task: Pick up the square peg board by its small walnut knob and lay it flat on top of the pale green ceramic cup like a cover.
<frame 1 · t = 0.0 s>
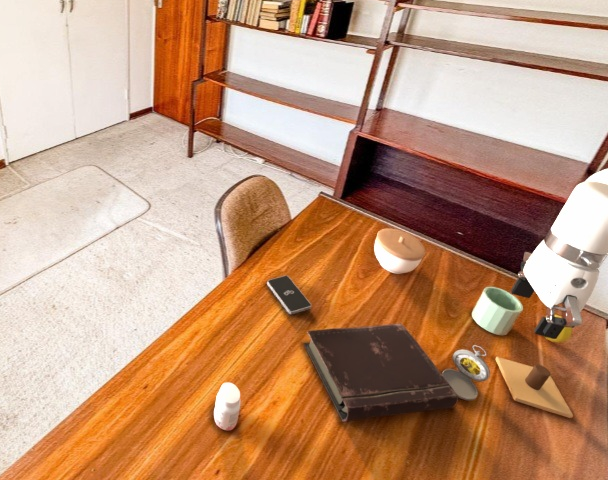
hand: (531, 314, 77), 24 cm above the table, tool pointing down, fingers open, 9 cm apart
cup: (489, 321, 104), on the table
lidded bowl: (391, 265, 121), on the table
pill bottle: (225, 418, 81), on the table
pocket watch: (460, 384, 89), on the table
square peg board: (530, 386, 89), on the table
external hard drive: (287, 298, 108), on the table
lemon: (547, 340, 100), on the table
diary: (371, 374, 90), on the table
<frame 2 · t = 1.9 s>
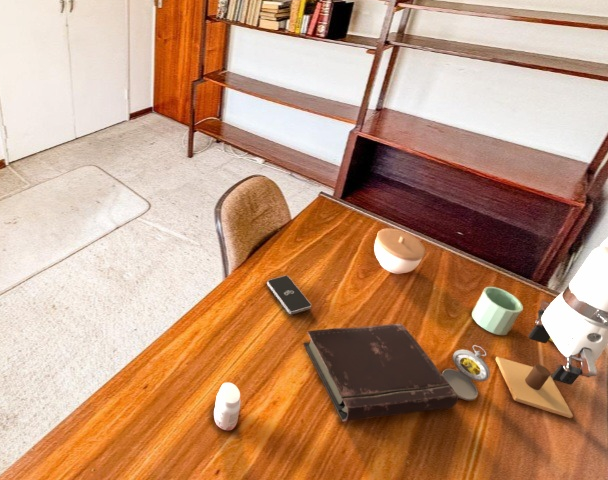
hand: (548, 359, 85), 9 cm above the table, tool pointing down, fingers open, 9 cm apart
nothing on the table moved.
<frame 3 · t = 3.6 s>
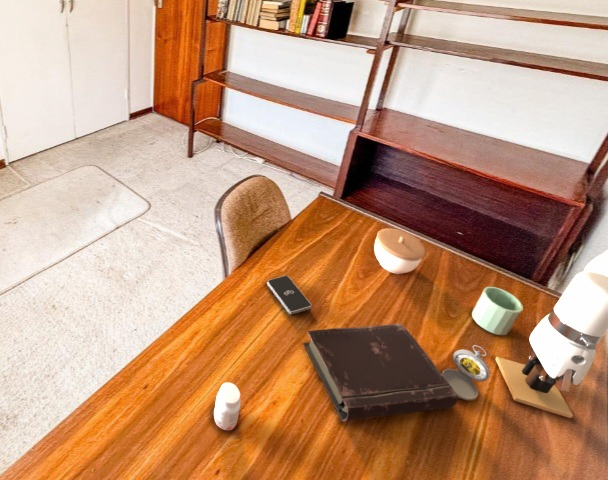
hand: (534, 381, 88), 2 cm above the table, tool pointing down, fingers closed on square peg board, 2 cm apart
square peg board: (530, 386, 89), on the table, touching gripper
everything else where it was.
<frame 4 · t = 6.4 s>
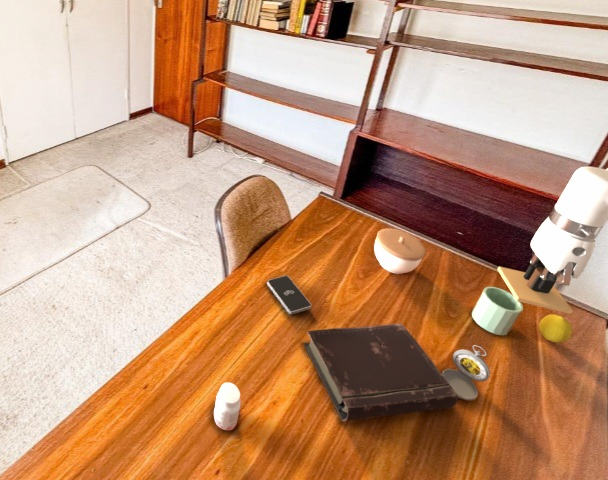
hand: (535, 284, 91), 19 cm above the table, tool pointing down, fingers closed on square peg board, 2 cm apart
square peg board: (531, 290, 92), point 17 cm above the table, touching gripper
everything else where it was.
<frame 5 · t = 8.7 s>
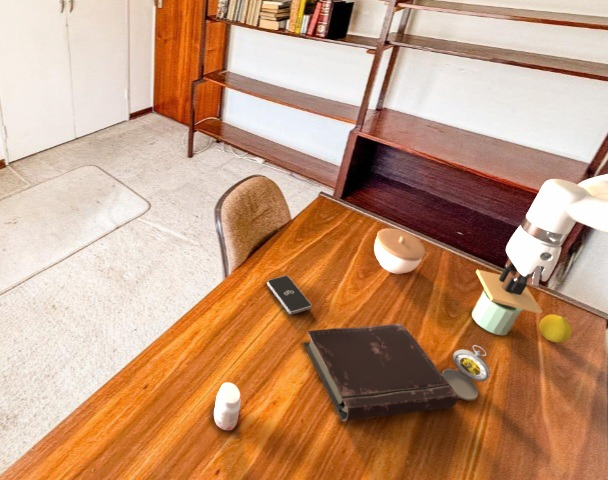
hand: (509, 286, 99), 13 cm above the table, tool pointing down, fingers closed on square peg board, 2 cm apart
square peg board: (506, 291, 100), point 11 cm above the table, touching gripper
everything else where it was.
when the fingers open (10 cm above the table, at t = 9.7 s): square peg board stays where it is, resting on cup.
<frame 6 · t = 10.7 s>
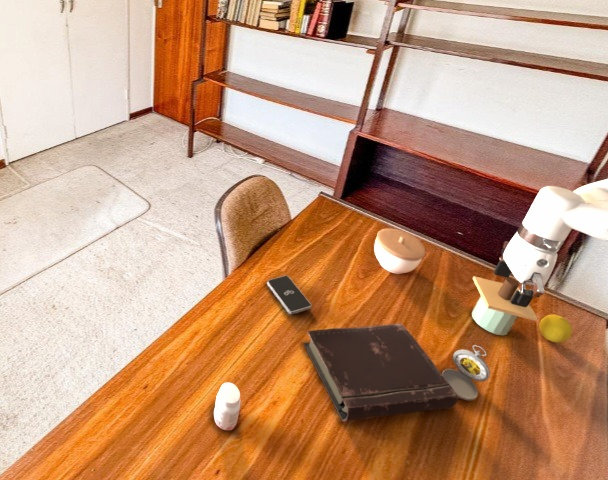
hand: (509, 289, 99), 12 cm above the table, tool pointing down, fingers open, 9 cm apart
cup: (489, 321, 104), on the table, touching square peg board
square peg board: (502, 298, 101), point 8 cm above the table, touching cup
everything else where it was.
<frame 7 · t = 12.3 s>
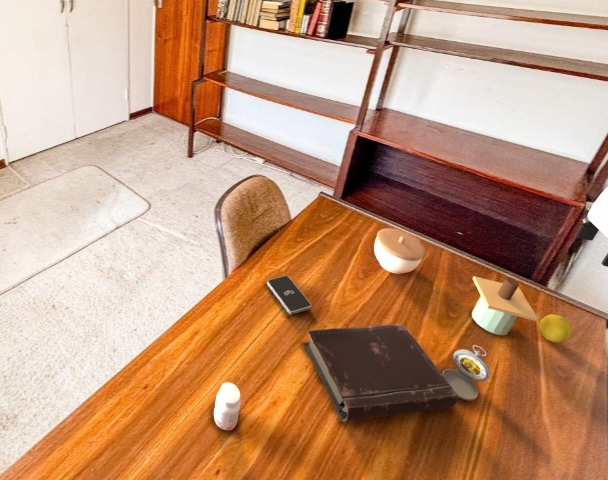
hand: (596, 251, 92), 26 cm above the table, tool pointing down, fingers open, 9 cm apart
nothing on the table moved.
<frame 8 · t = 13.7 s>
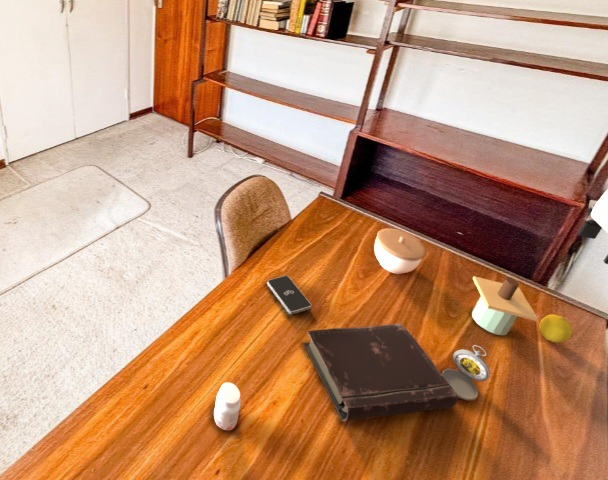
hand: (598, 249, 92), 26 cm above the table, tool pointing down, fingers open, 9 cm apart
nothing on the table moved.
at the end: square peg board 0.1 cm off-centre on the cup, point 8.5 cm above the cup's base; square peg board tilted 0°; cup tilted 0° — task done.
